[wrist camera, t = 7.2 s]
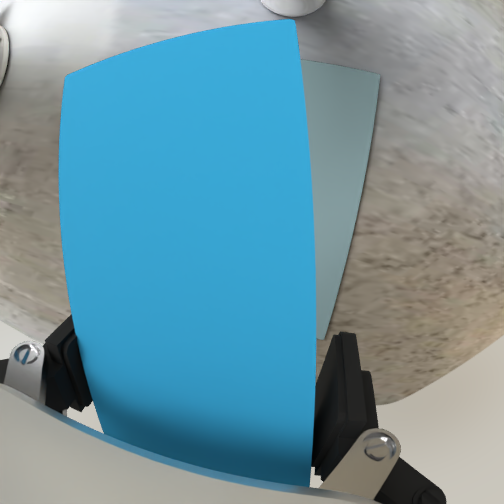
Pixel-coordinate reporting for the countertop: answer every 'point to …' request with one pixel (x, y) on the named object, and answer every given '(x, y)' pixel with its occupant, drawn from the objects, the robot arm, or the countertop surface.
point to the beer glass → (293, 6)
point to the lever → (195, 248)
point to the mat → (336, 166)
